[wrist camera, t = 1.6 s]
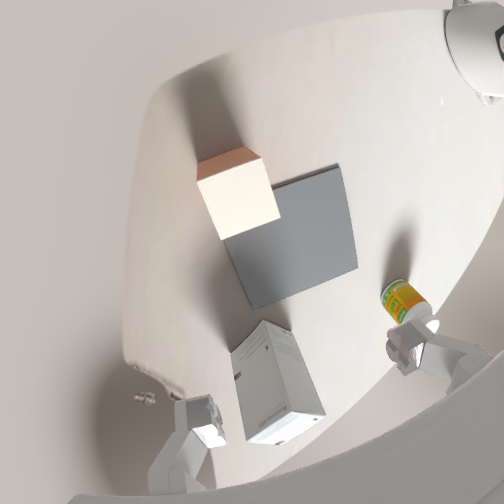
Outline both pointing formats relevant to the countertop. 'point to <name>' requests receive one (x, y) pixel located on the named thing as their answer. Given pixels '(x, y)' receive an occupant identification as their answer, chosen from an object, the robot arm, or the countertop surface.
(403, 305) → the supplement bottle
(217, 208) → the block
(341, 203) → the mat
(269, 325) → the skincare box
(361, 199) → the countertop surface
